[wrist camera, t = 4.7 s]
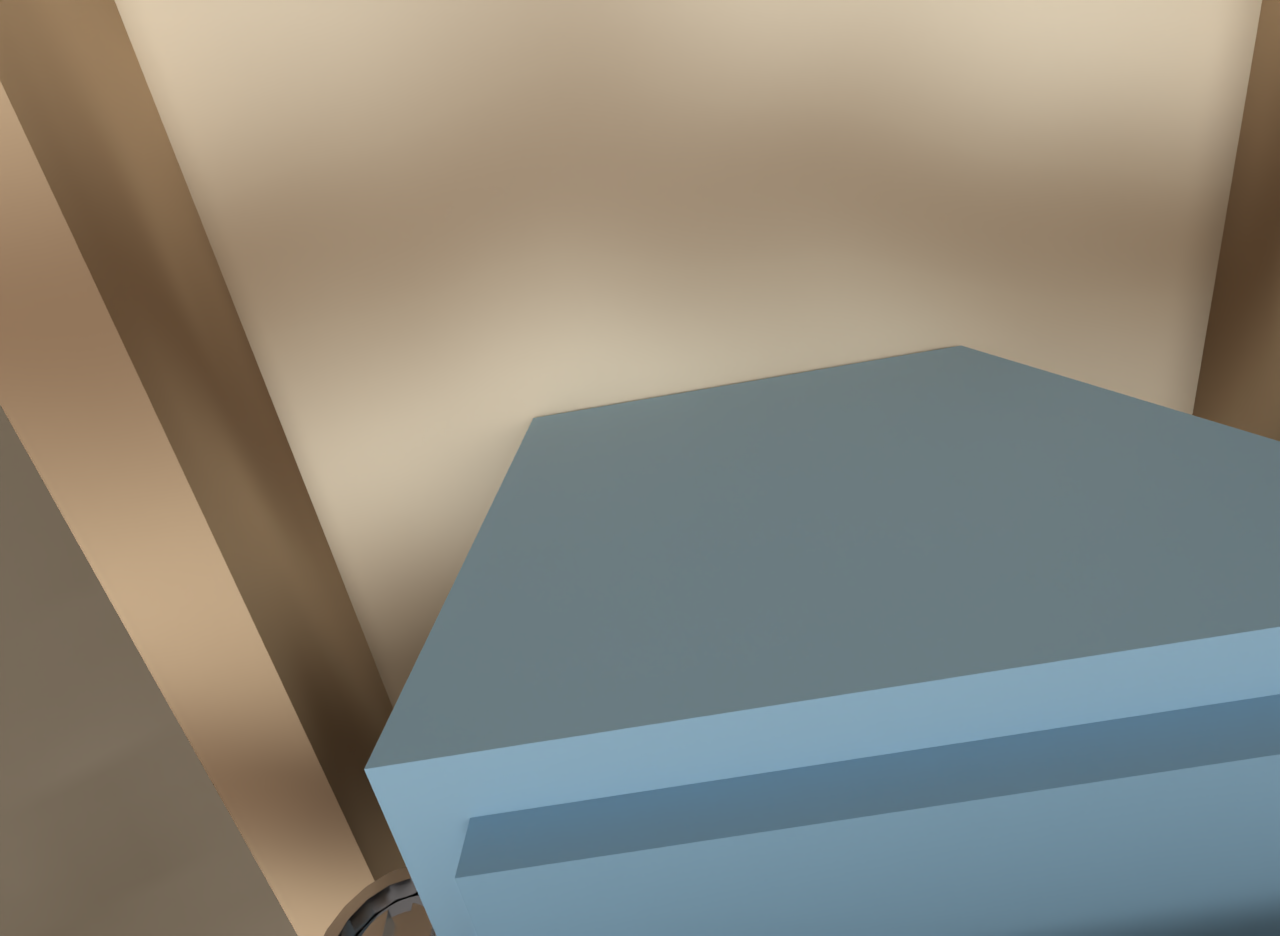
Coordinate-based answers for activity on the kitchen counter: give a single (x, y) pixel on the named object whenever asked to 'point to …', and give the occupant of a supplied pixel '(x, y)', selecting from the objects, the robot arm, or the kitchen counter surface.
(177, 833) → the kitchen counter surface
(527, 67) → the tray
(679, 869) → the light blue block
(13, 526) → the kitchen counter surface
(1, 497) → the kitchen counter surface
